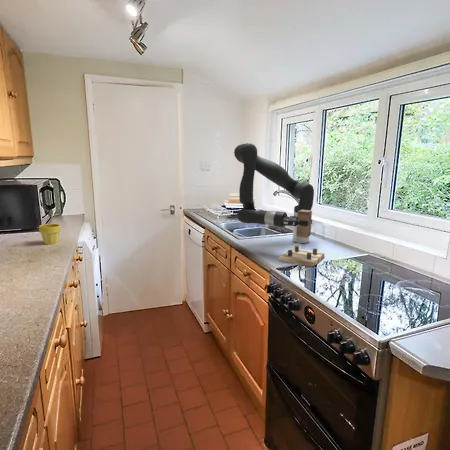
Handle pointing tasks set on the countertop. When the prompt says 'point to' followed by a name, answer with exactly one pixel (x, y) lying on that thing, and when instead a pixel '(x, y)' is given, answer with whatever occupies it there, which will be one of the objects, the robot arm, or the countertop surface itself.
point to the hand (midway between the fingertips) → (309, 222)
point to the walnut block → (304, 230)
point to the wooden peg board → (302, 256)
